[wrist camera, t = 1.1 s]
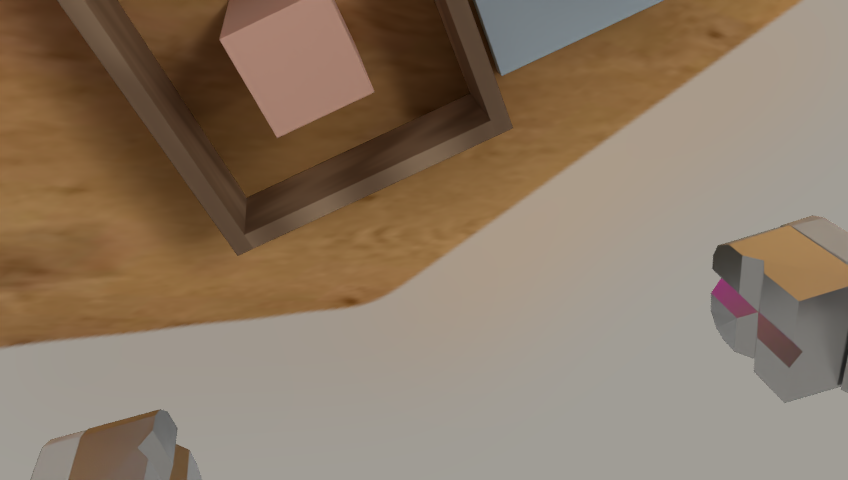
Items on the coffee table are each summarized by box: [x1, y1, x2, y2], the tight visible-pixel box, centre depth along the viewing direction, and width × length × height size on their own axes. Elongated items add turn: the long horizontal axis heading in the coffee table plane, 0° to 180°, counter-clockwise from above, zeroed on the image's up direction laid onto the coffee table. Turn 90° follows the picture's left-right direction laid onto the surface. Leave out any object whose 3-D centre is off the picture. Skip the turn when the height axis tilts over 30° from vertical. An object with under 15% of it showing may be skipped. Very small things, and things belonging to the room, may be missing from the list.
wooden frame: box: [57, 0, 513, 256], centre depth 34 cm, size 17×18×4 cm
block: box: [219, 0, 374, 138], centre depth 33 cm, size 5×5×8 cm
